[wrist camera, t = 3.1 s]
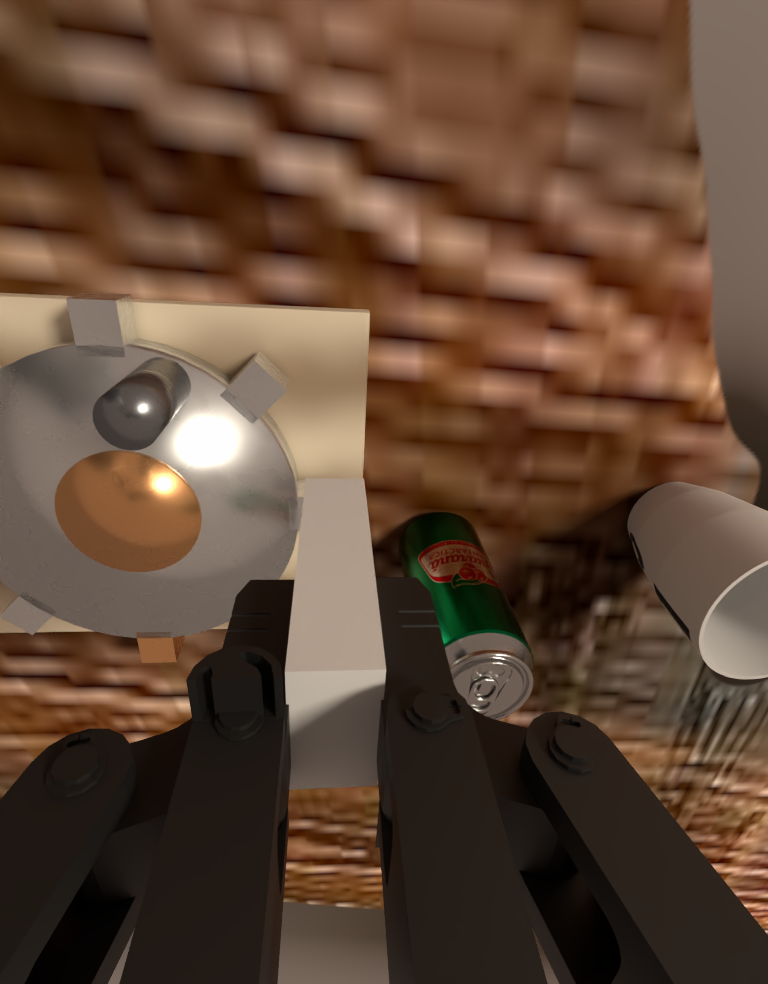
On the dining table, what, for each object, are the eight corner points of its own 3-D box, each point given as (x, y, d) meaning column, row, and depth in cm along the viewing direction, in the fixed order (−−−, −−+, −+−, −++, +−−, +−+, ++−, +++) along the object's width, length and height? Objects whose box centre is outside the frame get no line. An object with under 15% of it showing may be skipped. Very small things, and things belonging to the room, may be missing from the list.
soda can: (485, 512, 33) (558, 652, 22) (464, 577, 35) (522, 732, 25) (406, 502, 32) (444, 643, 22) (390, 569, 34) (417, 727, 24)
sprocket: (-143, 281, 23) (-318, 305, 17) (337, 304, 25) (340, 332, 19) (-7, 642, 32) (-86, 742, 26) (332, 635, 35) (332, 726, 28)
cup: (579, 535, 34) (665, 644, 26) (670, 435, 32) (801, 520, 23) (661, 583, 37) (765, 698, 28) (752, 495, 34) (898, 593, 25)
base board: (-154, 285, 24) (-178, 289, 23) (368, 309, 27) (370, 313, 26) (-24, 622, 33) (-36, 636, 32) (355, 616, 36) (356, 629, 35)
